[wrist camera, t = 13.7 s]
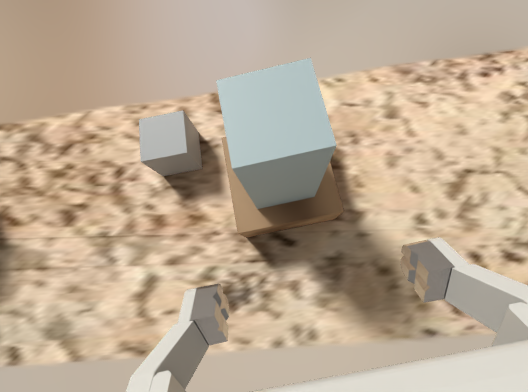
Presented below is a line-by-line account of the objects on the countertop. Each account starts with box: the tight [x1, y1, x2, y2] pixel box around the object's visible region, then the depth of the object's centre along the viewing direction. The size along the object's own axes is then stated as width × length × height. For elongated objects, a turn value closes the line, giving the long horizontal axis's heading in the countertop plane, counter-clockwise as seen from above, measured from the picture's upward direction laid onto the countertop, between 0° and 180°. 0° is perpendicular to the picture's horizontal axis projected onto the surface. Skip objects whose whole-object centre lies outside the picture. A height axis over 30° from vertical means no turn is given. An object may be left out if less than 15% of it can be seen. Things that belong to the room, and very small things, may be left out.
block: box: [139, 111, 203, 176], centre depth 24 cm, size 4×4×4 cm
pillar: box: [216, 58, 336, 209], centre depth 15 cm, size 4×4×9 cm
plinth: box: [222, 137, 344, 238], centre depth 22 cm, size 8×8×4 cm
